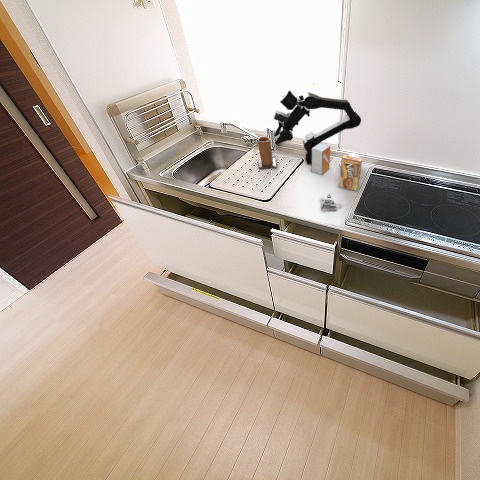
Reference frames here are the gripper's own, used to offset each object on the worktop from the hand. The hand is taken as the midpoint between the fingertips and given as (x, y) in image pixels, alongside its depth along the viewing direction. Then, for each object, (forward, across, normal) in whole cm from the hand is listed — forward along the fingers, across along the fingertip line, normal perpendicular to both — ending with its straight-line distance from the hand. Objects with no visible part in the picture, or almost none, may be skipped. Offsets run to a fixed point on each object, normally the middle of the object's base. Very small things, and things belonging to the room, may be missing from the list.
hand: (275, 139), depth 134 cm
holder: (+14, 0, +6) cm, 15 cm away
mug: (-17, +13, +36) cm, 42 cm away
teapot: (-6, +41, +25) cm, 48 cm away
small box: (-6, +10, +26) cm, 28 cm away
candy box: (-14, +28, +33) cm, 46 cm away
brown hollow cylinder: (+13, 0, +5) cm, 14 cm away
